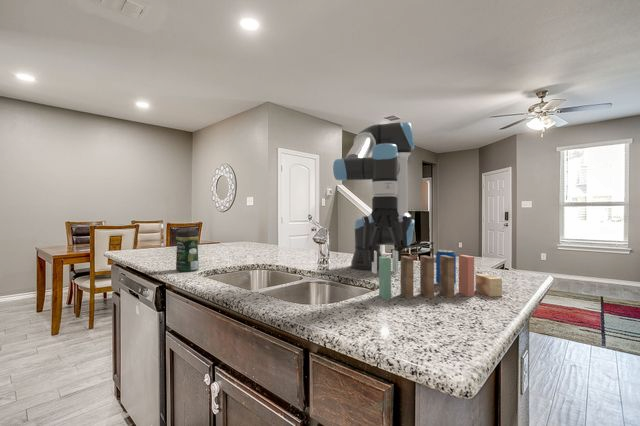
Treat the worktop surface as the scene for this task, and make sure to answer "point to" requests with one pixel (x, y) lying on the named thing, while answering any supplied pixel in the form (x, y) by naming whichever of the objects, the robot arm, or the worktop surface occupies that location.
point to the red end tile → (466, 275)
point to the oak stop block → (489, 285)
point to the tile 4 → (447, 275)
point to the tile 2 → (407, 277)
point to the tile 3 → (427, 276)
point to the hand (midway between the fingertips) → (384, 272)
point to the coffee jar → (187, 249)
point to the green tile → (385, 278)
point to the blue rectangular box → (440, 252)
